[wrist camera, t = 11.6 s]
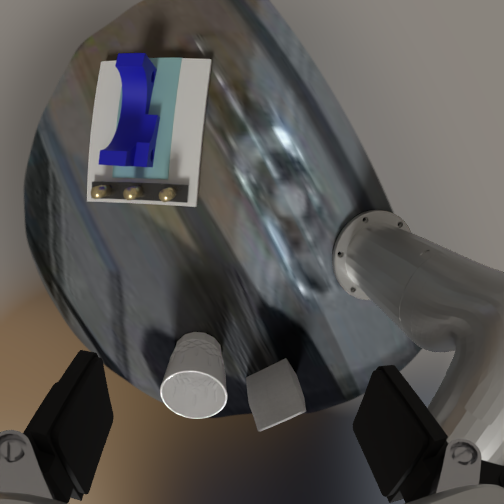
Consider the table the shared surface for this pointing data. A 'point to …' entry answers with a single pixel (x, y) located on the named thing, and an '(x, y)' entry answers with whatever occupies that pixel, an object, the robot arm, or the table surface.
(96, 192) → the coat peg rack
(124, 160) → the blue curved stepped piece
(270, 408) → the grey box
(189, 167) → the board
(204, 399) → the white cup
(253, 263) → the table surface
